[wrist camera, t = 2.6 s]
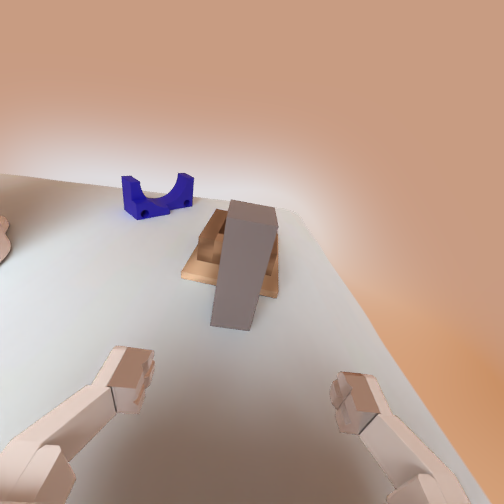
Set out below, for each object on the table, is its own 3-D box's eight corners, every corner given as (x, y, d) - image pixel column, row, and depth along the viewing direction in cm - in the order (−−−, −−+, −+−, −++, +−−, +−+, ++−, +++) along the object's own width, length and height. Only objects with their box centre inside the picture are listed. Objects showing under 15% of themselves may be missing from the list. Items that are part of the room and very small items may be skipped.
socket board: (181, 278, 29) (182, 246, 27) (211, 224, 43) (214, 201, 41) (276, 298, 29) (286, 269, 27) (276, 239, 43) (283, 216, 41)
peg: (210, 325, 24) (226, 217, 18) (215, 298, 27) (230, 199, 21) (249, 331, 24) (278, 226, 18) (249, 303, 28) (274, 207, 22)
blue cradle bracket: (137, 221, 39) (134, 185, 36) (124, 210, 41) (121, 176, 38) (196, 209, 48) (198, 180, 45) (183, 201, 50) (184, 172, 47)
